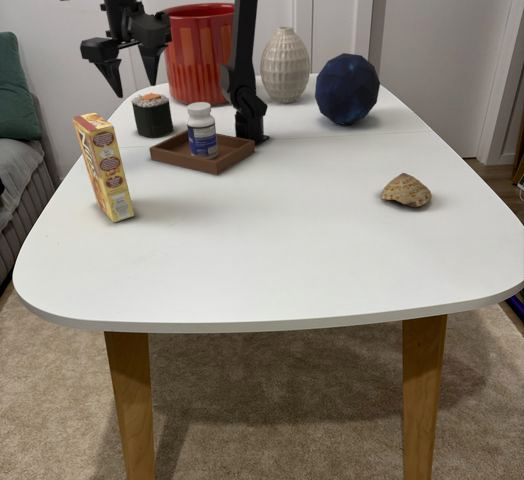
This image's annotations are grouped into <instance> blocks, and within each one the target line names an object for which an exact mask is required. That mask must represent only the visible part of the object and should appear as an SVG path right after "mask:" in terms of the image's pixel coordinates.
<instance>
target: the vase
mask: <svg viewBox="0 0 524 480" xmlns="http://www.w3.org/2000/svg"><path fill="white" fill-rule="evenodd" d="M303 41H304V40H303V39H301V38H300V36H299V35H298V34H297V33H296V32H295V30H294V27H292V26H290V25H281V26H278V27H277V28H276V30H275V32H274V33H273V35H272V36H271V37H270V38H269V39H268V41H267V42H266V44H265V46H264V48H263V51H262V54H261V59H260V66H259V70H260V80H261V82H262V85H263V88H264V90H265V92H266V93H267V95H268V96H269V97H270V98H271V100H272V101H273V102H274V103H277V104H292V103H295V102H297V101H298V100H299V98H300V97H301V96H302V95H303V94H304V91H305V90H306V88H307V85H308V83H309V79H310V75H311V74H310V73H311V61H310V56H309V51H308V49H307V47H306V45H305V44H304V42H303Z"/></svg>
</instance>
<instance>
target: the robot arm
mask: <svg viewBox="0 0 524 480" xmlns="http://www.w3.org/2000/svg"><path fill="white" fill-rule="evenodd" d="M59 1H60V2H69V0H59ZM233 3H234V16H233V31H232V45H231V56H230V59H229V61H228V64H227V66H226V65H223V64H221V65H220V71H221V78H220V82H219V86H220V87H221V88H222V93H223V95H224V97H225V98H226V99H227V100H228V101H229V102H230V103H229V104H231V106H232V108H233V109H235V110H236V111H235V114H234V131H235V137H238V138H243V139H248V140H254V141H255V148H256V147H258V146H259V145H262V144H263V143H265V142H266V141H268V140H269V139H270V137H271V136H269V135H267V134H265V131H264V116H266V114H267V110H268V107H269V106H268V104H267V103H266V102H265V101H264V100H263V99H262V98H261V97H259V95H257V77H256V72H255V68H254V62H253V61H254V59H253V57H254V47H255V37H256V24H257V15H258V14H257V13H258V3H259V0H234V2H233ZM99 8H100V12H105V14H106V17H107V23H108V28H109V29H107V30H105V36H106V37H98V36H95V37H91V38H87V39H84V40H81V42H80V45H79V50H80V55H81V59H82V60H87V61H88V63H89V64H93V65H94V66H95V68H97V70H98V71H99V72H100V73H101V75H102V76H103V77H104V79H105V80H106V82H107V83H108V85H109V86H110V88H111V89H112V91H113V92H114V93H115V96H116V97H117V98H118V99H123V98H124V90H123V85H122V78H121V74H120V66H121V63H122V61H123V59H122V58H118V57H119V54H120V50H124V49H127V48H131V47H135V46H137V49H138V52H139V55H140V58H141V62H142V64H143V67H144V70H145V74H146V77H147V80H148V82H149V85H150V86H151V87H155V86H157V81H158V80H157V78H158V72H159V64H160V60H161V55H162V54H163V53H164V50H165V49H166V48H167V47H168V46H169V44H165V43H168V42H172V33H171V23H170V18H169V14H168V13H167V12H165V11H162V10H160V11H156V12H155V14H154V13H152V14H148V13H146V10H145V6H144V4H143V0H142V1H139V0H103V3H99Z"/></svg>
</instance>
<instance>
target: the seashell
mask: <svg viewBox="0 0 524 480" xmlns="http://www.w3.org/2000/svg"><path fill="white" fill-rule="evenodd" d="M432 196H433V195H432V192H431V190H430V189H429V188H428V186H427V185H425V184H424V183H422V182H421V180H419V179H417V178H416V177H415V176H413V175H411V174H408V173H405V172H402V173H400V174H399V175H397V176H395V177H394V178H393V179H391V180H390V181H389V182H388V183H387V184H386V185H385V186H384V187H383V189H382V191H381V193H380V198H381V199H383V200H387V201H397V202H399V203H401V204H402V205H404V206H409V207H412V208H418V207H421V206H423V205H425V204H427V203H428V202H429V201H431V200H432V198H433V197H432Z"/></svg>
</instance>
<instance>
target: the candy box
mask: <svg viewBox="0 0 524 480" xmlns="http://www.w3.org/2000/svg"><path fill="white" fill-rule="evenodd" d="M72 122H73V125H74V130H75V133H76V136H77V139H78V143H79V146H80V149H81V153H82V156H83V160H84V163H85V167H86V170H87V173H88V177H89V180H90V184H91V187H92V191H93V193H94V198H95V201H96V204H97V206H98V207H99V209H100V210H101V211H103V213H104V214H105V215H106V216H107V217H108V218H109V219H110V220H111V222H113V223H117V222H121V221H123V220H126V219H129V218H133V217H135V211H134V207H133V202H132V198H131V194H130V190H129V186H128V181H127V177H126V173H125V169H124V168H125V167H124V165H123V161H122V157H121V153H120V148H119V144H118V140H117V134H116V131H115V127H114V125H113V124H112V123H110V122H109V121H107V120H106V119H105V118H104V117H102V116H101V115H99V114H97V113H96V112H91V113H87V114H82V115H78V116H73V117H72Z"/></svg>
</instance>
